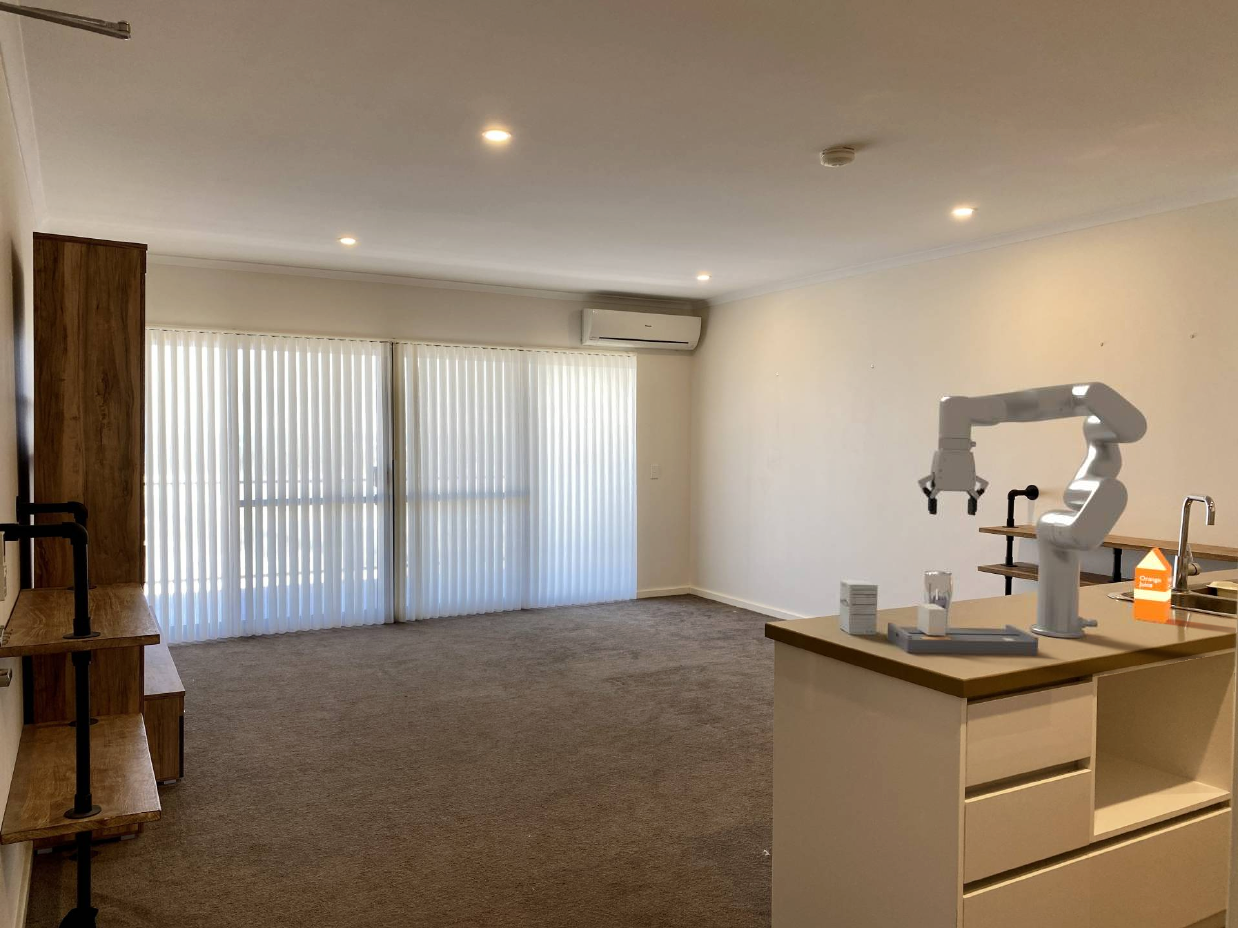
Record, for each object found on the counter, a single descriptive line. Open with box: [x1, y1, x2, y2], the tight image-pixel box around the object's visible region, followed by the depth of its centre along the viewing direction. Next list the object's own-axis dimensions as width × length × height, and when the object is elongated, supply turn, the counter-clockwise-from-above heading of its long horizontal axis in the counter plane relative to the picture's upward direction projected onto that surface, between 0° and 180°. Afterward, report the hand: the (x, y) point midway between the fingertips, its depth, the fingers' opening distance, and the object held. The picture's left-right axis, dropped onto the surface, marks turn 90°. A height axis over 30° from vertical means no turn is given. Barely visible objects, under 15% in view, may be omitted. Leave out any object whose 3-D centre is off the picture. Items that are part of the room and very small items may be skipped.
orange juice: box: [1132, 546, 1173, 624], centre depth 246 cm, size 8×9×20 cm
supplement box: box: [838, 579, 879, 636], centre depth 221 cm, size 7×7×13 cm
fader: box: [916, 603, 946, 635], centre depth 207 cm, size 4×7×7 cm, turn 1°
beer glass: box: [923, 570, 954, 628], centre depth 224 cm, size 7×7×15 cm
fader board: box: [886, 622, 1039, 656], centre depth 207 cm, size 30×14×4 cm, turn 91°
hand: (952, 514), depth 218 cm, fingers open, 9 cm apart
